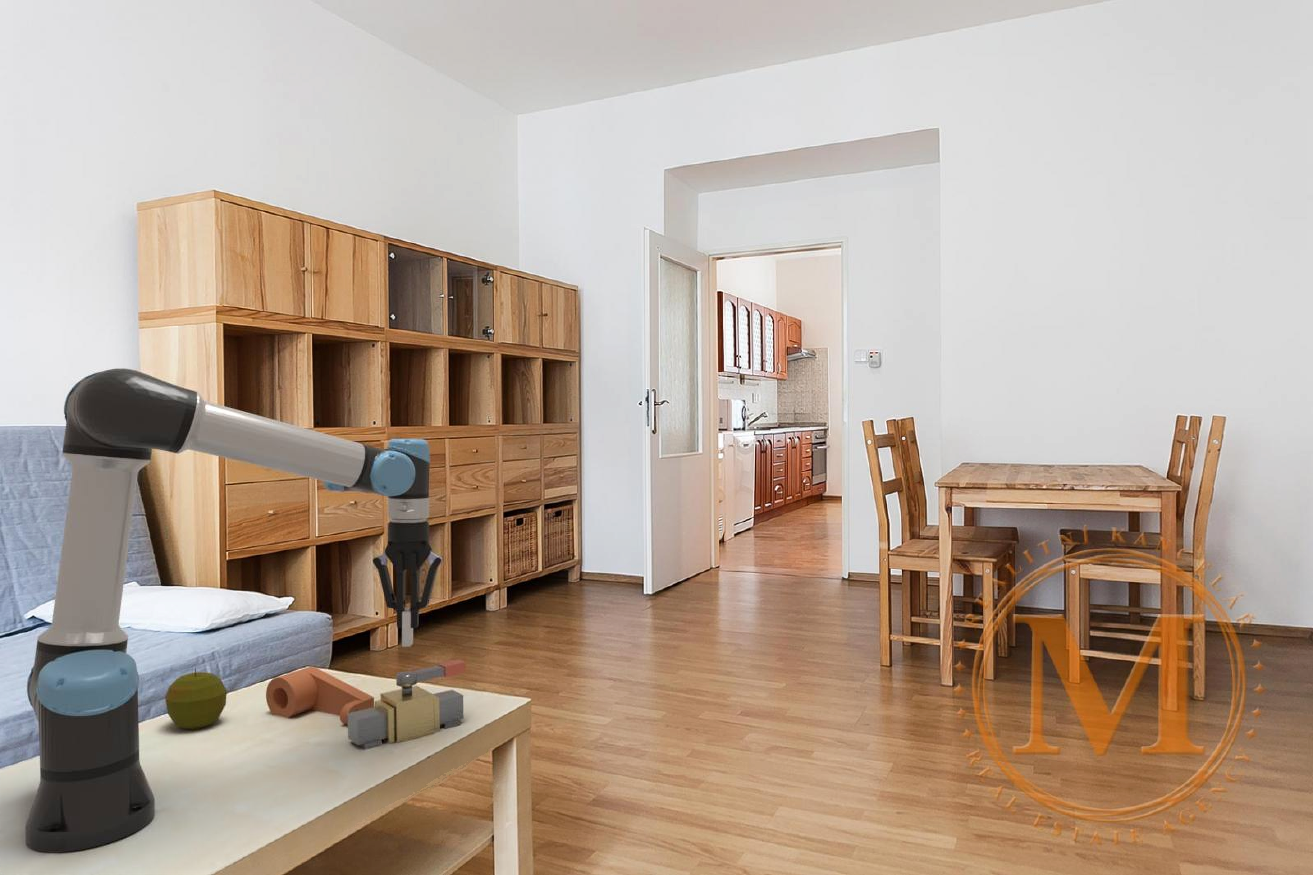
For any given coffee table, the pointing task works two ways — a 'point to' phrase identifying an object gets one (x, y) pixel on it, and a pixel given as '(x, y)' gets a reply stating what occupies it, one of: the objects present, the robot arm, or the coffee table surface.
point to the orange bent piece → (314, 695)
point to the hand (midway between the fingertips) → (407, 644)
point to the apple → (196, 700)
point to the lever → (430, 673)
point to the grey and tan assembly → (405, 716)
